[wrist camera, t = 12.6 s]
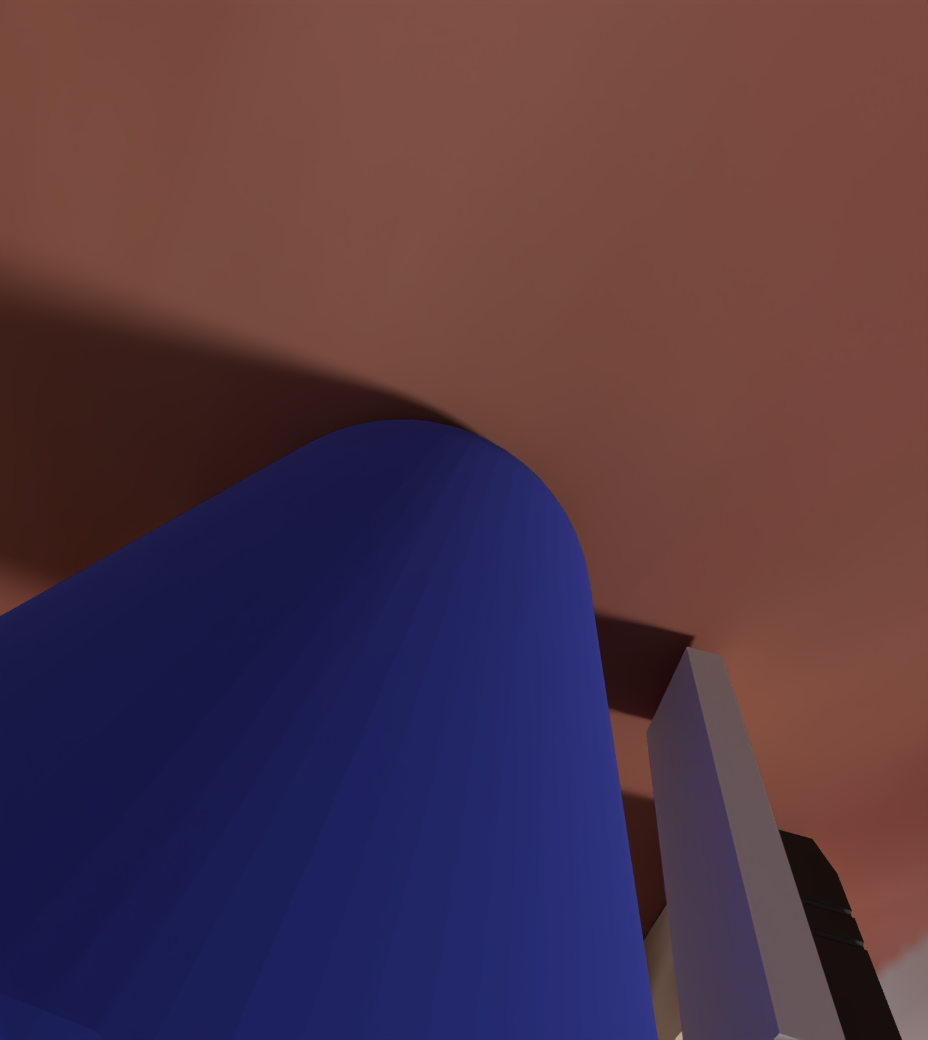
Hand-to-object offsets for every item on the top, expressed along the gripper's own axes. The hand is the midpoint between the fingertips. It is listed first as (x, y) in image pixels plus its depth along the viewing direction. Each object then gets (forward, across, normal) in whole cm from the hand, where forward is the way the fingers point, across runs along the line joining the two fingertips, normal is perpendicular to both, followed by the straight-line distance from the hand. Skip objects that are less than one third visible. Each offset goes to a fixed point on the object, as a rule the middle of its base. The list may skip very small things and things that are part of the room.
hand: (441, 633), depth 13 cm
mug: (+1, 0, 0) cm, 1 cm away
